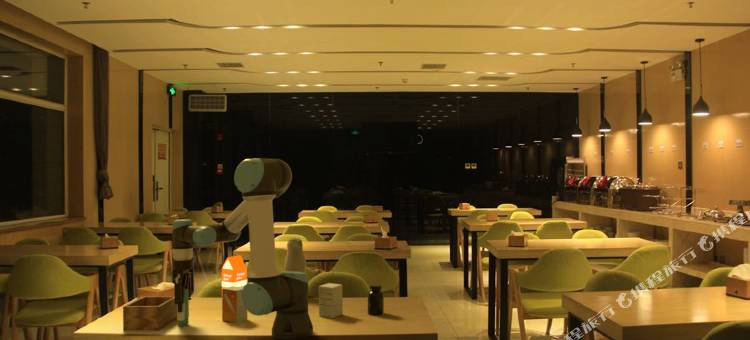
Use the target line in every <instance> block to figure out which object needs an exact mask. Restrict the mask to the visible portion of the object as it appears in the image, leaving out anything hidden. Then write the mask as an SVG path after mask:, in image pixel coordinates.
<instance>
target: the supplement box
mask: <svg viewBox="0 0 750 340" xmlns="http://www.w3.org/2000/svg"><path fill="white" fill-rule="evenodd" d="M343 301H344V299H343V284H339V283H331V282H328V283H325V284H322V285H318V316H319V317H322V318H323V317H324V318H329V319H334V318H336V317H339V316H342V315H343V314H344V313H343V312H344V310H343V309H344V308H343V307H344V305H343Z"/></svg>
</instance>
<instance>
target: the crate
mask: <svg viewBox="0 0 750 340" xmlns="http://www.w3.org/2000/svg"><path fill="white" fill-rule="evenodd" d="M174 302H175V295H174V296H170V295H169V296H153V295H152V296H142V297H140V298H138V299H136V300H134V301H131V302H129V303H127V304H125V305H123V306H122V317H123V318H122V330H123V331H161V330H162V329H164V328H165V327H167V326H168V325H170V324H171V323H173V322H174V321H175V320H176V321H177V304H175V303H174Z"/></svg>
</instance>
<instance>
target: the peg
mask: <svg viewBox="0 0 750 340" xmlns="http://www.w3.org/2000/svg"><path fill="white" fill-rule="evenodd" d="M188 301H189V300H188V289H184V303H185V320H177V327H181V328H182V327H189V317H188Z"/></svg>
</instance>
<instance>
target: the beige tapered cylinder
mask: <svg viewBox="0 0 750 340" xmlns="http://www.w3.org/2000/svg"><path fill="white" fill-rule="evenodd" d="M303 245H304V244H303V241H302V240H301V238H296V237H295V238H294V237H293V238H289V239H288V241H287V244H286V248H287V249H286V254H285V259H284V264H283V265H284V266H283V267H284V268H283V271H295V272H303V273H306V274H307V261H306V256H305V254H304V249H303Z"/></svg>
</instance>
